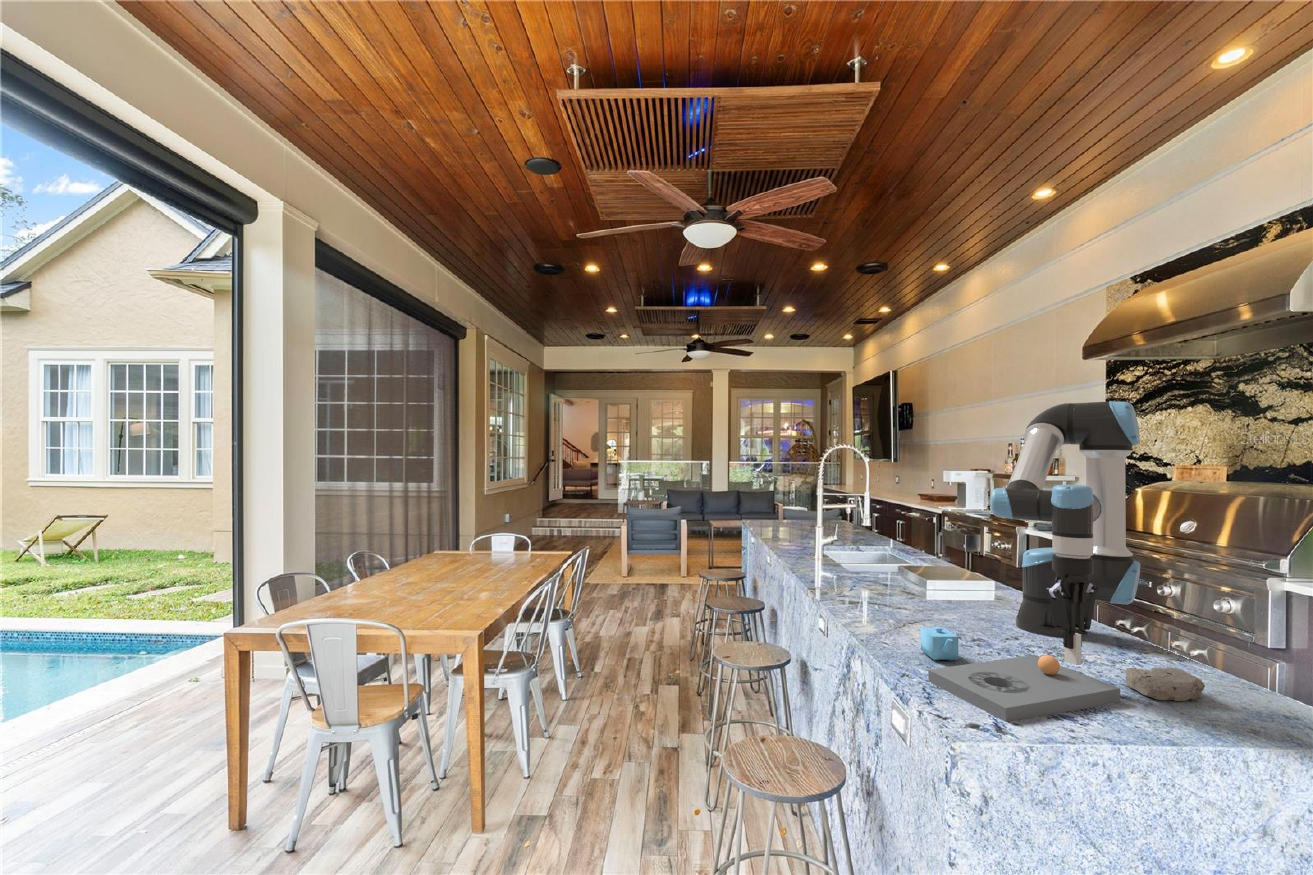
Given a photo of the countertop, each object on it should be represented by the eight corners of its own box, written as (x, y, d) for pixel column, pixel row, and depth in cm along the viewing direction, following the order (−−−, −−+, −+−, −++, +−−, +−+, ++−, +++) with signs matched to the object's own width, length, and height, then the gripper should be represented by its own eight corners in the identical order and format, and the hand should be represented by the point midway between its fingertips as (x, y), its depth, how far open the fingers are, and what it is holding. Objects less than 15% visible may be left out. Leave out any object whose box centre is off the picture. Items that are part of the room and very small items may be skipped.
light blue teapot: (965, 668, 141) (964, 636, 141) (939, 668, 141) (938, 636, 142) (942, 651, 153) (942, 621, 153) (918, 650, 153) (918, 621, 154)
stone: (1114, 684, 131) (1160, 706, 121) (1117, 658, 131) (1164, 678, 121) (1164, 685, 133) (1213, 708, 123) (1167, 660, 133) (1217, 680, 123)
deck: (1032, 667, 142) (1032, 655, 142) (1120, 703, 123) (1120, 688, 123) (928, 683, 133) (928, 669, 133) (1005, 724, 114) (1005, 708, 114)
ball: (1047, 669, 133) (1047, 651, 133) (1064, 676, 129) (1064, 657, 129) (1033, 671, 131) (1033, 653, 131) (1050, 678, 127) (1050, 659, 128)
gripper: (1077, 550, 138) (1078, 654, 138) (1034, 553, 134) (1034, 659, 134) (1111, 556, 131) (1111, 665, 130) (1066, 560, 127) (1066, 672, 126)
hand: (1072, 662), depth 132 cm, fingers closed
